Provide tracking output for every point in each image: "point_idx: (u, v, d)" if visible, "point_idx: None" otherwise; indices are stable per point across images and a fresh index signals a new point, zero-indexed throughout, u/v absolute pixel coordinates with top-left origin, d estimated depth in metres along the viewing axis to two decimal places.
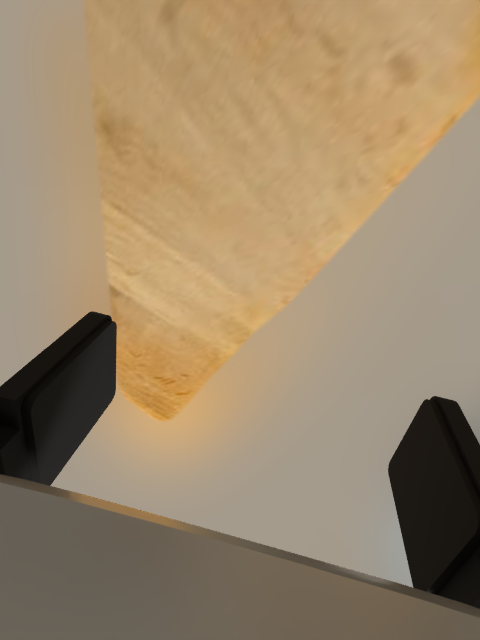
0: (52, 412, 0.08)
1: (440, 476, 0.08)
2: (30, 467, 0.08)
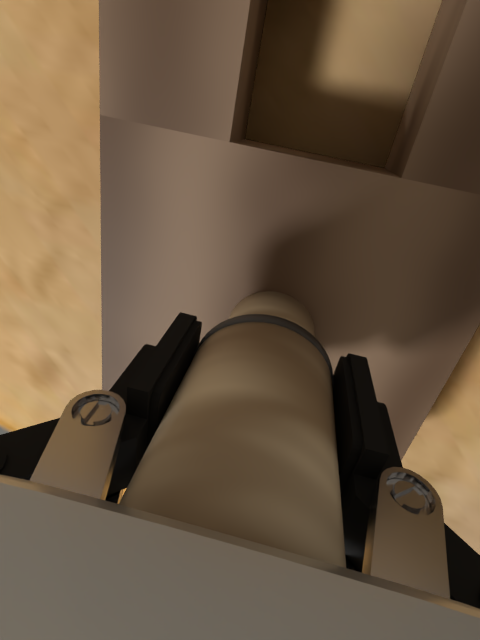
0: (166, 404, 0.09)
1: (339, 417, 0.10)
2: None
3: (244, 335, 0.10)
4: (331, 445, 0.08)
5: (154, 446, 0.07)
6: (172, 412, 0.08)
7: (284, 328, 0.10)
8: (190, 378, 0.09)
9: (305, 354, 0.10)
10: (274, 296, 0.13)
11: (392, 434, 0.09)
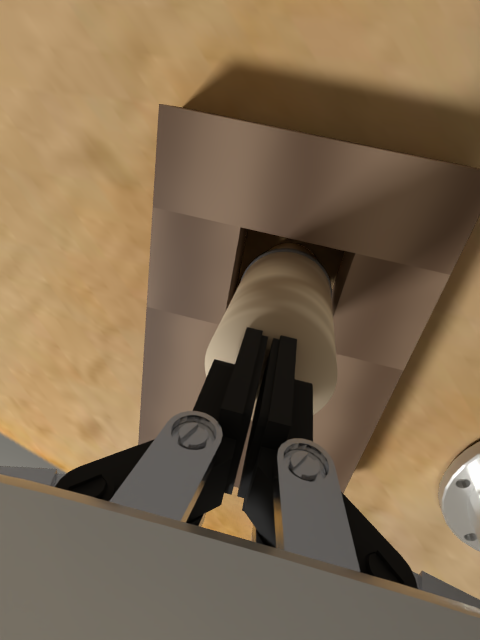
0: None
1: (261, 394, 0.10)
2: (229, 473, 0.09)
3: (277, 257, 0.16)
4: (329, 306, 0.14)
5: (235, 299, 0.14)
6: (241, 289, 0.15)
7: (301, 255, 0.17)
8: (247, 277, 0.16)
9: (314, 268, 0.16)
10: (292, 245, 0.20)
11: (311, 411, 0.10)
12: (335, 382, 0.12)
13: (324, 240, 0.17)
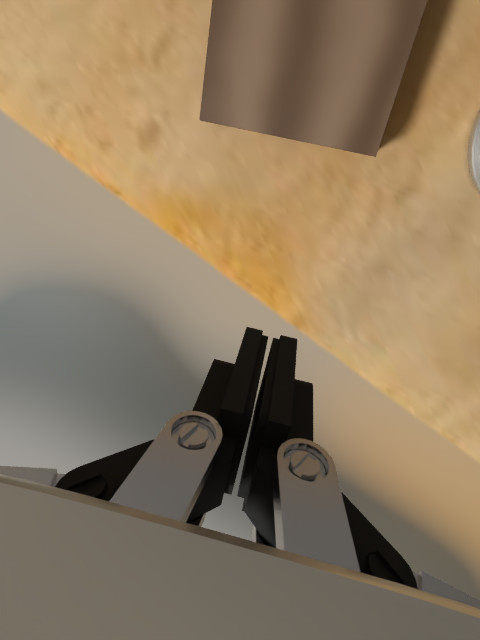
0: None
1: (261, 394, 0.10)
2: (229, 473, 0.09)
3: None
4: None
5: None
6: None
7: None
8: None
9: None
10: None
11: (311, 411, 0.10)
12: None
13: None
